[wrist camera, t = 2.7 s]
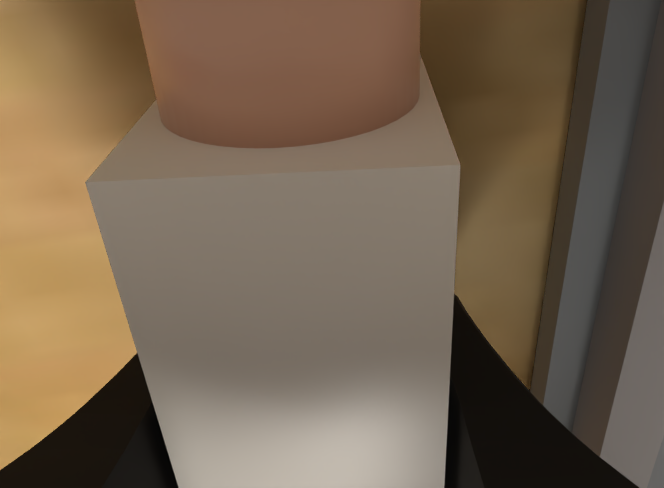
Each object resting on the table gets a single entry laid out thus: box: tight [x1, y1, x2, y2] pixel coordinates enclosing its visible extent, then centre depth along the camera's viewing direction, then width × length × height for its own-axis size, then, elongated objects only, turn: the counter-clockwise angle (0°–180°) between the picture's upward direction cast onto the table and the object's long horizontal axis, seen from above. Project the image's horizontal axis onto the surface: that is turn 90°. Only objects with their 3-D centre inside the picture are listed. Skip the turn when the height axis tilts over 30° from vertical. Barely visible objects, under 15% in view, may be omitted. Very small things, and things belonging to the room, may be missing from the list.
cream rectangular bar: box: [85, 0, 460, 488], centre depth 11 cm, size 13×4×5 cm, turn 4°
